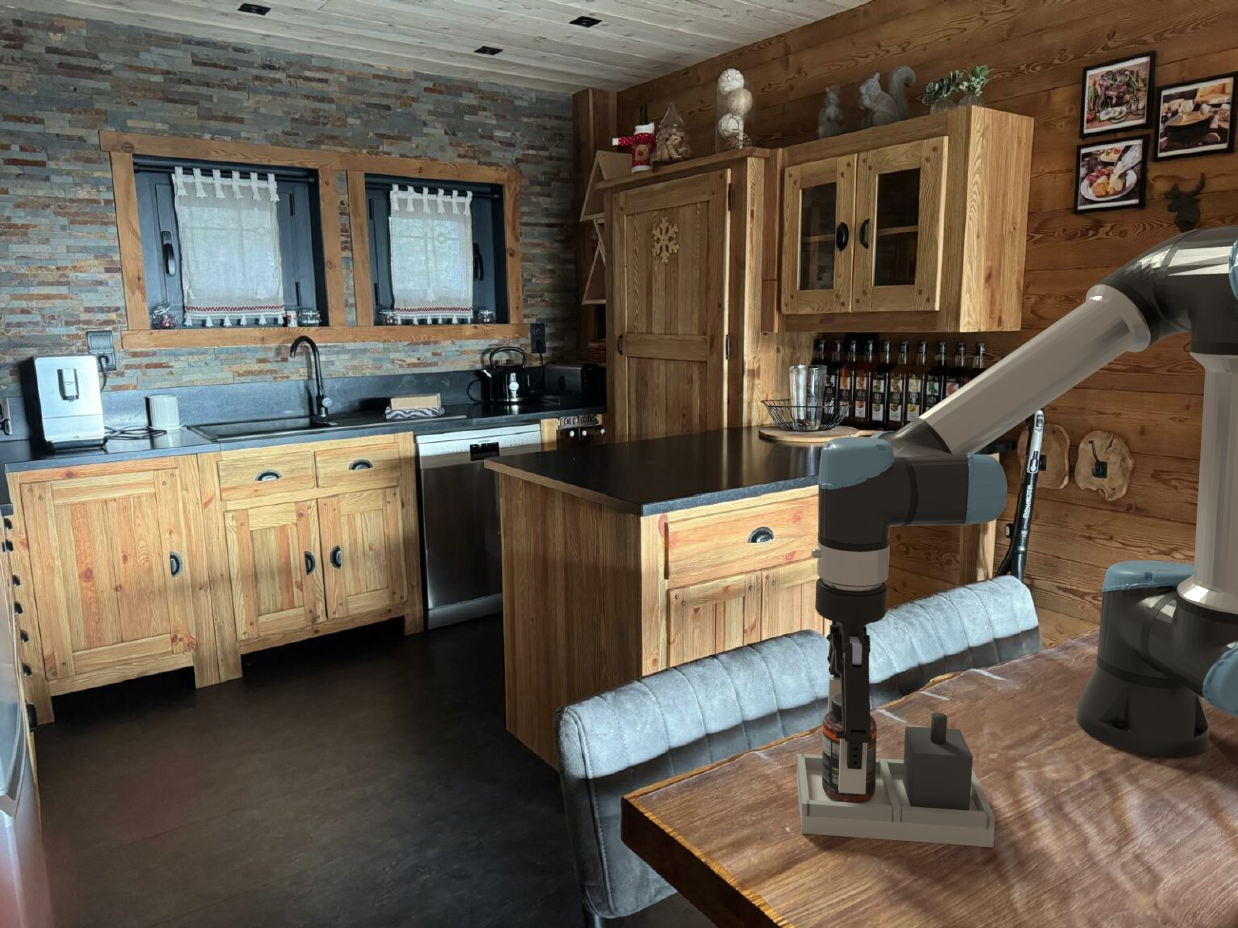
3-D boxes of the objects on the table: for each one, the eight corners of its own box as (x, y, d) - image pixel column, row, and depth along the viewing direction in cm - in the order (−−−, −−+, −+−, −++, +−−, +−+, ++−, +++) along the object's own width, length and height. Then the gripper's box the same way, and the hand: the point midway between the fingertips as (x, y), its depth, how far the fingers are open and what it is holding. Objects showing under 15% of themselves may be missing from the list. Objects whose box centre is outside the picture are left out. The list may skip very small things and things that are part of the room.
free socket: (877, 766, 105) (877, 754, 104) (891, 821, 94) (892, 807, 94) (796, 762, 106) (797, 749, 106) (802, 815, 95) (802, 801, 95)
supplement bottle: (872, 779, 102) (875, 689, 100) (877, 807, 96) (881, 712, 94) (820, 775, 103) (822, 685, 101) (822, 803, 97) (824, 709, 95)
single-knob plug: (956, 784, 101) (961, 704, 99) (969, 815, 95) (974, 730, 93) (902, 781, 102) (906, 702, 100) (911, 811, 96) (916, 727, 94)
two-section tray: (967, 787, 104) (969, 759, 103) (993, 847, 93) (995, 815, 92) (796, 777, 107) (797, 749, 106) (801, 833, 95) (802, 802, 95)
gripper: (808, 546, 107) (804, 705, 112) (825, 620, 83) (819, 820, 87) (871, 547, 106) (865, 708, 110) (907, 623, 82) (897, 825, 86)
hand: (845, 758), depth 99 cm, fingers open, 13 cm apart
